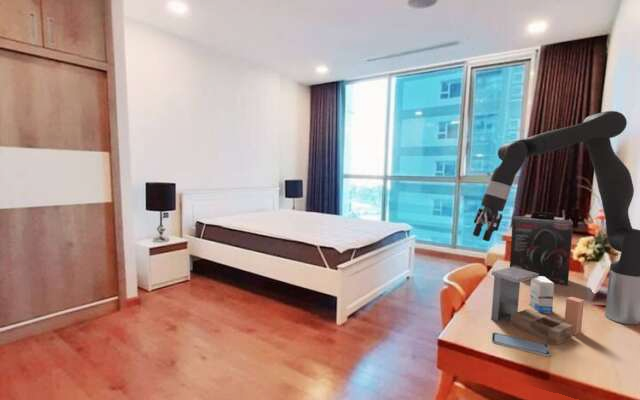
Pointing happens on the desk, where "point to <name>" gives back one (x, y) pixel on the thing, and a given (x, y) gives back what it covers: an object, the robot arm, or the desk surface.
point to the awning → (508, 291)
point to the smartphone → (521, 344)
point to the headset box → (542, 246)
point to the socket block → (541, 326)
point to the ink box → (542, 294)
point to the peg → (574, 313)
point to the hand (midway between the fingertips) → (480, 238)
